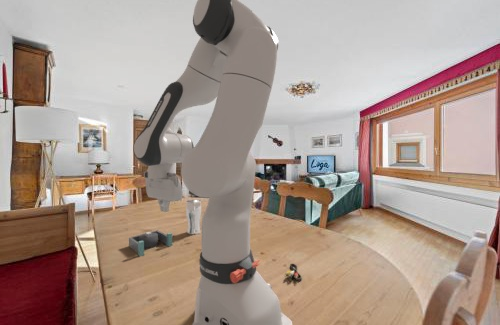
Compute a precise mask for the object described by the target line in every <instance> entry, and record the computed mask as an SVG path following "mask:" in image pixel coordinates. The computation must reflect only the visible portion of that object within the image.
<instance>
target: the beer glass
mask: <svg viewBox="0 0 500 325" xmlns="http://www.w3.org/2000/svg"><path fill="white" fill-rule="evenodd" d="M201 201H202V200H200V199H189V200H187V201H186V206H185V211H186V212H185V213H186V214H185V215H186V219H187V232H186V233H187V234H188V235H198V234H200V233H202V229H201V227H200V226H201V225H200V223H201V219H202V217H201V216H202V202H201Z"/></svg>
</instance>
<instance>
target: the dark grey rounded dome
mask: <svg viewBox="0 0 500 325" xmlns="http://www.w3.org/2000/svg"><path fill="white" fill-rule="evenodd" d="M151 232H152V231H147V232H146V231H145V232H144V233H142V235H141V234H139V235H140V236H139V241H144V250H149V249H152V248H155V247H157V246H158V245H159V240H158V234H157V233H151Z"/></svg>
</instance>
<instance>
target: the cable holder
mask: <svg viewBox="0 0 500 325" xmlns="http://www.w3.org/2000/svg"><path fill="white" fill-rule="evenodd" d="M150 232H151V233H157V234H158V242H161V243H163V244H165V245H166V246H167V247H172V246H173V233H172V232H168V233H164V232H162V231H159V230H152V231H150ZM142 234H143V233H142ZM142 234H138V235H133V236H131V237H128V247H129V248H130V249H132V250H133V251H134V252H135V253H137V255H138V257H142V256H145V249H144V241H139V236H140V235H142Z"/></svg>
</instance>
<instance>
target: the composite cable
mask: <svg viewBox="0 0 500 325" xmlns="http://www.w3.org/2000/svg"><path fill="white" fill-rule="evenodd" d="M294 267H295V268H294ZM289 268H290V270H287V271H286V272H285V274H284V278H286V277H287V278H288V277H289V280H290V281H292V280H295V281H296V282H301V281H303V278H302V275H301V274H300V273H299V272H298V266H297V264H295V263H290V265H289Z"/></svg>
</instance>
